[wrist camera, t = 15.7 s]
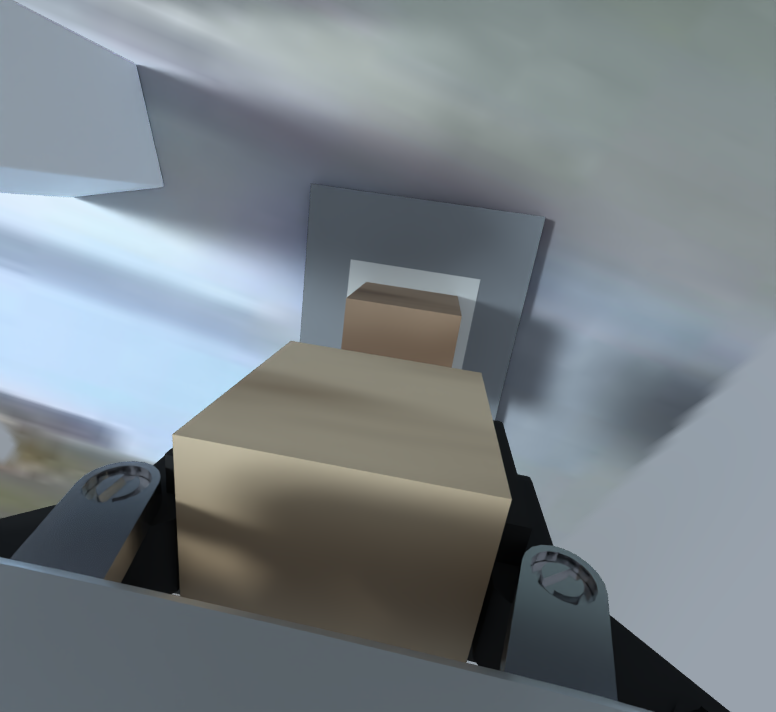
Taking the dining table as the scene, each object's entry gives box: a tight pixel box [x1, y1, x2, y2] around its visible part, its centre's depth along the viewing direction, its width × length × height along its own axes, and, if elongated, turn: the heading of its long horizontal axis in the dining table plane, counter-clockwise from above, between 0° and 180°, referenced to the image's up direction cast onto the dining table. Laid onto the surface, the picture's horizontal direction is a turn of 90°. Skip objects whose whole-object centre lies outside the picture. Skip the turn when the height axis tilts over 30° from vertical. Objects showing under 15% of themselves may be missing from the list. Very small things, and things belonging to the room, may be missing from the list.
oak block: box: [172, 341, 512, 663], centre depth 9 cm, size 5×5×5 cm
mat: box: [300, 184, 546, 420], centre depth 23 cm, size 14×12×1 cm
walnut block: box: [341, 282, 462, 368], centre depth 21 cm, size 5×5×5 cm
